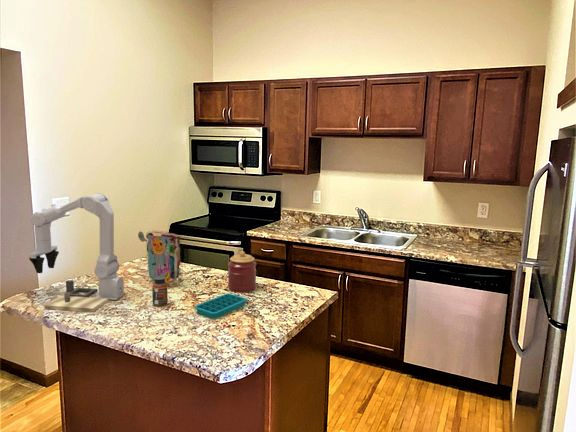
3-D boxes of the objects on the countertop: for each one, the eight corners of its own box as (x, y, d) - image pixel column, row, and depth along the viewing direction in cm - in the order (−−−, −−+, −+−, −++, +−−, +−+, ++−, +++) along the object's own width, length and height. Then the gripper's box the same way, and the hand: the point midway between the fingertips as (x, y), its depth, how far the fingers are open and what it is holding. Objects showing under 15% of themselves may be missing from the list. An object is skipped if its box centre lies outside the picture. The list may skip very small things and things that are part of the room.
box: (134, 279, 203) (132, 230, 199) (144, 276, 209) (142, 228, 205) (173, 288, 192) (172, 236, 188) (182, 284, 197) (182, 234, 193)
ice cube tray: (192, 314, 164) (192, 306, 164) (227, 299, 181) (227, 292, 180) (214, 321, 158) (214, 314, 157) (248, 305, 174) (248, 298, 174)
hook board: (107, 301, 174) (107, 290, 173) (93, 312, 163) (92, 299, 162) (62, 299, 175) (61, 287, 175) (44, 309, 165) (43, 296, 164)
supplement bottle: (158, 308, 168) (157, 281, 167) (149, 304, 172) (148, 277, 170) (170, 304, 173) (170, 277, 171) (161, 300, 177) (161, 274, 175)
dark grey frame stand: (97, 292, 185) (96, 278, 184) (85, 299, 176) (85, 285, 175) (73, 290, 186) (73, 277, 185) (61, 297, 177) (60, 284, 176)
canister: (254, 293, 188) (255, 255, 185) (225, 292, 188) (225, 254, 185) (257, 284, 201) (257, 248, 198) (230, 283, 201) (230, 247, 198)
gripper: (45, 235, 186) (47, 265, 188) (22, 242, 172) (24, 274, 174) (60, 236, 185) (62, 266, 188) (38, 243, 171) (40, 275, 173)
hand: (45, 270), depth 181 cm, fingers open, 7 cm apart
